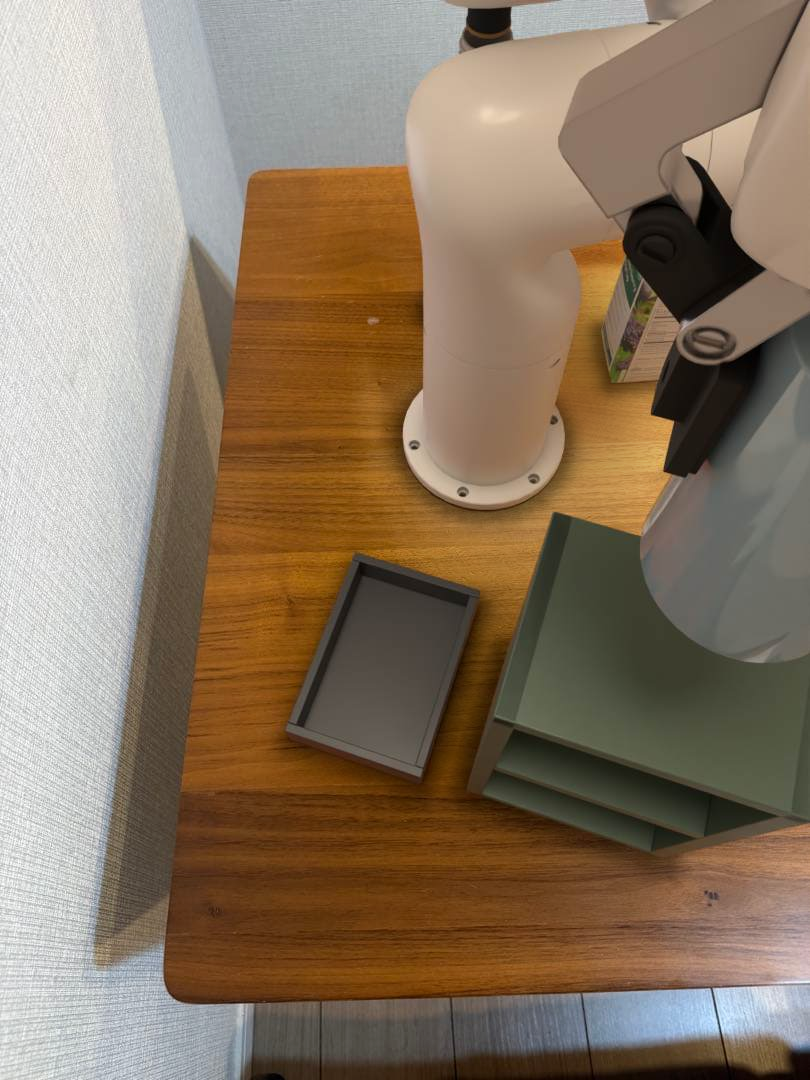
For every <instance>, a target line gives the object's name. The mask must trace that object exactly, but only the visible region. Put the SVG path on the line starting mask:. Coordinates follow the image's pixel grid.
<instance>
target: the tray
mask: <svg viewBox="0 0 810 1080" xmlns="http://www.w3.org/2000/svg"><path fill="white" fill-rule="evenodd" d="M481 592H482V591H481V589H478V588H473V587H471V586H468V585H465V584H461V583H459V582H455V581H451V580H448V579H445V578H443V577H438V576H435V575H431V574H428V573H425V572H421V571H419V570H415V569H412V568H409V567H406V566H403V565H398V564H395V563H392V562H389V561H386V560H383V559H379V558H376V557H372V556H369V555H366V554H363V553H360V552H354V554H353V556H352V560H351V562H350V564H349V567H348V570H347V572H346V575H345V577H344V579H343V582H342V584H341V587H340V589H339V592H338V594H337V596H336V599H335V602H334V605H333V606H332V609H331V612H330V614H329V617H328V620H327V622H326V625H325V628H324V630H323V633H322V635H321V637H320V639H319V640H320V641H319V642H318V645H317V647H316V650H315V652H314V655H313V658H312V659H311V662H310V665H309V668H308V671H307V673H306V676H305V678H304V680H303V683H302V686H301V687H300V690H299V693H298V696H297V698H296V700H295V704H294V705H293V709H292V711H291V714H290V716H289V718H288V722H287V724H286V725H285V729H284V732H285V733H286V735H287V736H288V738H289V739H290V741H292V742H295V743H298V744H301V745H303V746H306V747H309V748H313V749H315V750H318V751H321V752H323V753H326V754H329V755H332V756H335V757H338V758H341V759H344V760H346V761H350V762H352V763H355V764H358V765H361V766H364V767H367V768H370V769H373V770H376V771H379V772H382V773H384V774H388V775H390V776H393V777H397V778H398V779H402V780H404V781H408V782H410V783H414V784H416V785H419V786H420V785H422V782H423V779H424V776H425V773H426V770H427V767H428V765H429V764H428V763H429V761H430V757H431V754H432V751H433V748H434V746H435V743H436V739H437V735H438V733H439V729H440V726H441V724H442V720H443V717H444V714H445V711H446V707H447V705H448V701H449V698H450V695H451V691H452V689H453V686H454V682H455V679H456V676H457V674H458V673H457V672H458V669H459V666H460V663H461V660H462V658H463V653H464V651H465V648H466V645H467V641H468V638H469V635H470V632H471V629H472V626H473V622H474V620H475V616H476V613H477V610H478V607H479V602H480V596H481Z"/></svg>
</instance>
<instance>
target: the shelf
mask: <svg viewBox="0 0 810 1080" xmlns="http://www.w3.org/2000/svg"><path fill="white" fill-rule="evenodd" d="M640 540H641V535H639V534H635V533H631V532H628V531H625V530H621V529H618V528H614V527H610V526H607V525H605V524H604V525H603V524H600V523H598V522H597V523H596V522H593V521H590V520H587V519H583V518H579V517H577V516H576V517H575V516H572V515H568V514H565V513H562V512H558V511H553V512H552V514H551V517H550V520H549V522H548V525H547V528H546V531H545V535H544V538H543V541H542V544H541V546H540V549H539V554H538V556H537V559H536V563H535V565H534V568H533V571H532V574H531V578H530V580H529V584H528V586H527V590H526V593H525V596H524V599H523V602H522V604H521V608H520V611H519V614H518V617H517V620H516V622H515V626H514V629H513V632H512V635H511V638H510V641H509V644H508V647H507V650H506V653H505V657H504V660H503V664H502V667H501V670H500V673H499V676H498V680H497V684H496V687H495V691H494V693H493V698H492V701H491V703H490V708H489V711H488V713H487V717H486V721H485V724H484V728H483V731H482V734H481V738H480V740H479V745H478V748H477V750H476V751H477V752H476V754H475V758H474V761H473V765H472V768H471V772H470V775H469V779H468V782H467V784H466V789H465V791H466V792H468V793H471V794H475V795H477V796H481V797H482V798H486V799H488V800H492V801H495V802H498V803H501V804H504V805H506V806H509V807H512V808H515V809H518V810H520V811H524V812H527V813H529V814H532V815H535V816H538V817H541V818H544V819H547V820H549V821H553V822H556V823H558V824H562V825H564V826H567V827H570V828H573V829H576V830H579V831H582V832H584V833H588V834H591V835H594V836H597V837H599V838H602V839H605V840H608V841H611V842H614V843H616V844H619V845H622V846H626V847H629V848H632V849H634V850H637V851H640V852H643V853H646V854H649V855H652V856H655V857H658V858H661V859H665V858H670V857H674V856H678V855H682V854H685V853H689V852H694V851H698V850H702V849H706V848H712V847H715V846H719V845H723V844H727V843H731V842H736V841H740V840H743V839H748V838H753V837H757V836H761V835H766V834H769V833H774V832H778V831H782V830H787V829H790V828H795V827H798V826H803V825H807V824H810V653H809V654H807V655H805V656H803V657H800V658H796V659H793V660H789V661H784V662H777V663H754V662H745V661H741V660H736V659H732V658H728V657H726V656H723V655H720V654H717V653H715V652H713V651H711V650H709V649H707V648H705V647H703V646H701V645H699V644H698V643H696V642H695V641H693V640H692V639H690V638H688V637H687V636H686V635H685V634H684V633H682V632H681V631H680V630H679V629H678V628H676V627H675V625H674V624H673V623H672V622H671V621H670V620H669V619H668V618H667V617H666V616H665V614H664V613H663V612H662V611H661V609H660V608H659V607H658V605H657V603H656V602H655V600H654V598H653V597H652V595H651V593H650V591H649V588H648V586H647V584H646V581H645V578H644V574H643V571H642V566H641V559H640Z"/></svg>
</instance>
